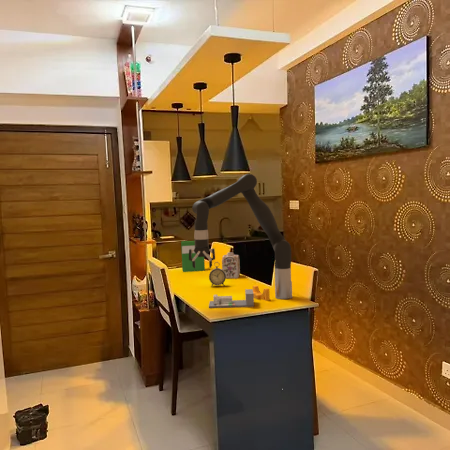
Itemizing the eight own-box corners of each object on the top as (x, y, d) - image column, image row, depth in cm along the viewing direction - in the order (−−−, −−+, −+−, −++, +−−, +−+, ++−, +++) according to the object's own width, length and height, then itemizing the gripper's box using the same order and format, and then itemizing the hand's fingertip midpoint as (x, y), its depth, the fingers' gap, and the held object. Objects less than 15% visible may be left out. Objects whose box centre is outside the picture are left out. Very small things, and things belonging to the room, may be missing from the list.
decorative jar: (222, 278, 302) (221, 253, 301) (224, 275, 314) (223, 251, 313) (238, 278, 301) (237, 253, 299) (240, 275, 312) (239, 251, 311)
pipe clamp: (250, 297, 243) (250, 286, 243) (256, 296, 246) (256, 285, 245) (263, 301, 233) (263, 290, 233) (269, 300, 236) (269, 288, 235)
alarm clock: (209, 287, 274) (208, 262, 273) (209, 285, 279) (209, 261, 278) (226, 286, 274) (225, 262, 273) (226, 285, 279) (225, 261, 278)
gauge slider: (232, 301, 230) (231, 294, 230) (232, 304, 222) (231, 297, 222) (214, 301, 230) (213, 294, 230) (213, 305, 222) (213, 298, 222)
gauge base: (252, 301, 233) (252, 289, 232) (253, 306, 222) (253, 293, 221) (209, 302, 233) (209, 290, 233) (208, 308, 222) (208, 295, 222)
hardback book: (183, 272, 335) (181, 242, 333) (182, 270, 342) (181, 241, 340) (204, 270, 338) (203, 241, 336) (203, 269, 345) (202, 240, 343)
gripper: (215, 237, 229) (215, 266, 230) (189, 237, 230) (190, 267, 231) (214, 238, 222) (214, 268, 223) (187, 239, 222) (188, 269, 223)
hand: (202, 267), depth 227 cm, fingers open, 8 cm apart
